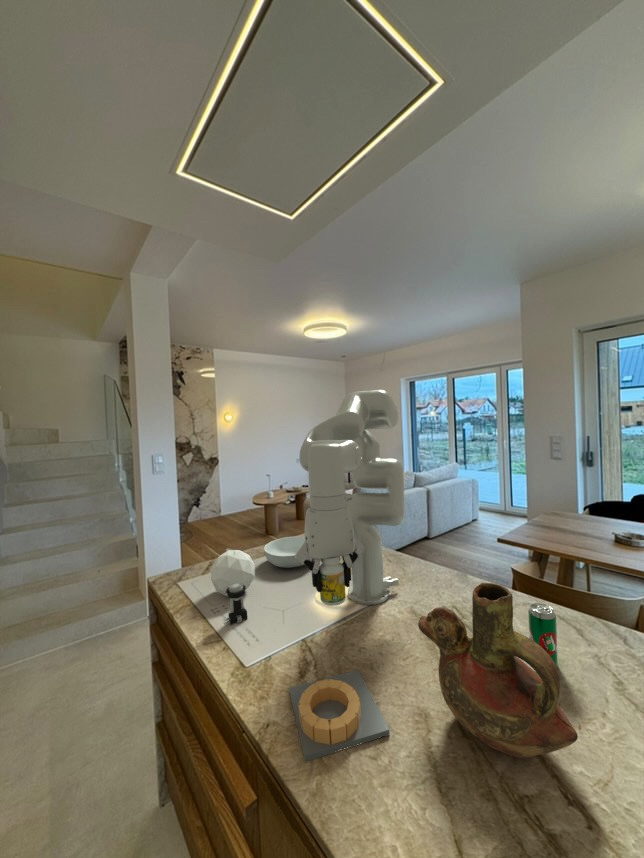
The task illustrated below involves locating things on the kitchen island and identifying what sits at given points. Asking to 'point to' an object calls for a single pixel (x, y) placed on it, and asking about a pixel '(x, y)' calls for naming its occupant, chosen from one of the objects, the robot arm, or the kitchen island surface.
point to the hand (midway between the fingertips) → (332, 585)
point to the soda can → (543, 628)
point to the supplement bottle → (332, 581)
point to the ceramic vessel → (498, 677)
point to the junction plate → (370, 717)
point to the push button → (236, 603)
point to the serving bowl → (285, 551)
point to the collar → (331, 728)
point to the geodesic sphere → (232, 570)
